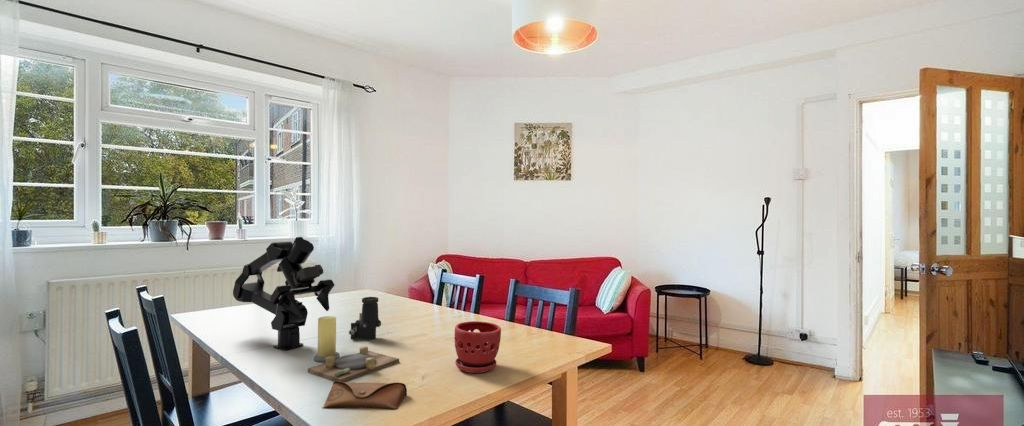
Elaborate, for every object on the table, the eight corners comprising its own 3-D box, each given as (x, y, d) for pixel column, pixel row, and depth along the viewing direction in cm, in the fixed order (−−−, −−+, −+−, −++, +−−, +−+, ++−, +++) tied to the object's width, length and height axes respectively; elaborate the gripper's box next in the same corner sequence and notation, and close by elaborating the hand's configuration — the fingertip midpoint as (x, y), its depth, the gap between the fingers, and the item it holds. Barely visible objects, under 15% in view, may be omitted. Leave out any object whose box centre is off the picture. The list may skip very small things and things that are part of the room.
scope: (359, 295, 164) (386, 296, 163) (359, 334, 164) (385, 335, 163) (347, 299, 156) (375, 301, 155) (347, 340, 156) (375, 342, 155)
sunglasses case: (318, 408, 103) (324, 377, 106) (328, 413, 109) (334, 383, 112) (399, 409, 103) (403, 378, 106) (405, 413, 109) (408, 384, 113)
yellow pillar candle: (309, 359, 137) (309, 318, 137) (329, 353, 143) (330, 314, 142) (323, 363, 133) (323, 322, 133) (344, 357, 139) (344, 317, 139)
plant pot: (464, 379, 122) (464, 334, 122) (447, 364, 134) (448, 322, 134) (508, 371, 128) (508, 328, 128) (488, 358, 140) (489, 318, 140)
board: (307, 372, 126) (307, 359, 126) (367, 353, 143) (367, 342, 143) (341, 383, 118) (342, 370, 118) (400, 362, 135) (400, 350, 135)
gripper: (275, 259, 136) (297, 301, 130) (331, 254, 152) (352, 291, 146) (261, 283, 140) (281, 325, 134) (316, 276, 156) (336, 313, 150)
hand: (314, 312), depth 141 cm, fingers open, 9 cm apart
